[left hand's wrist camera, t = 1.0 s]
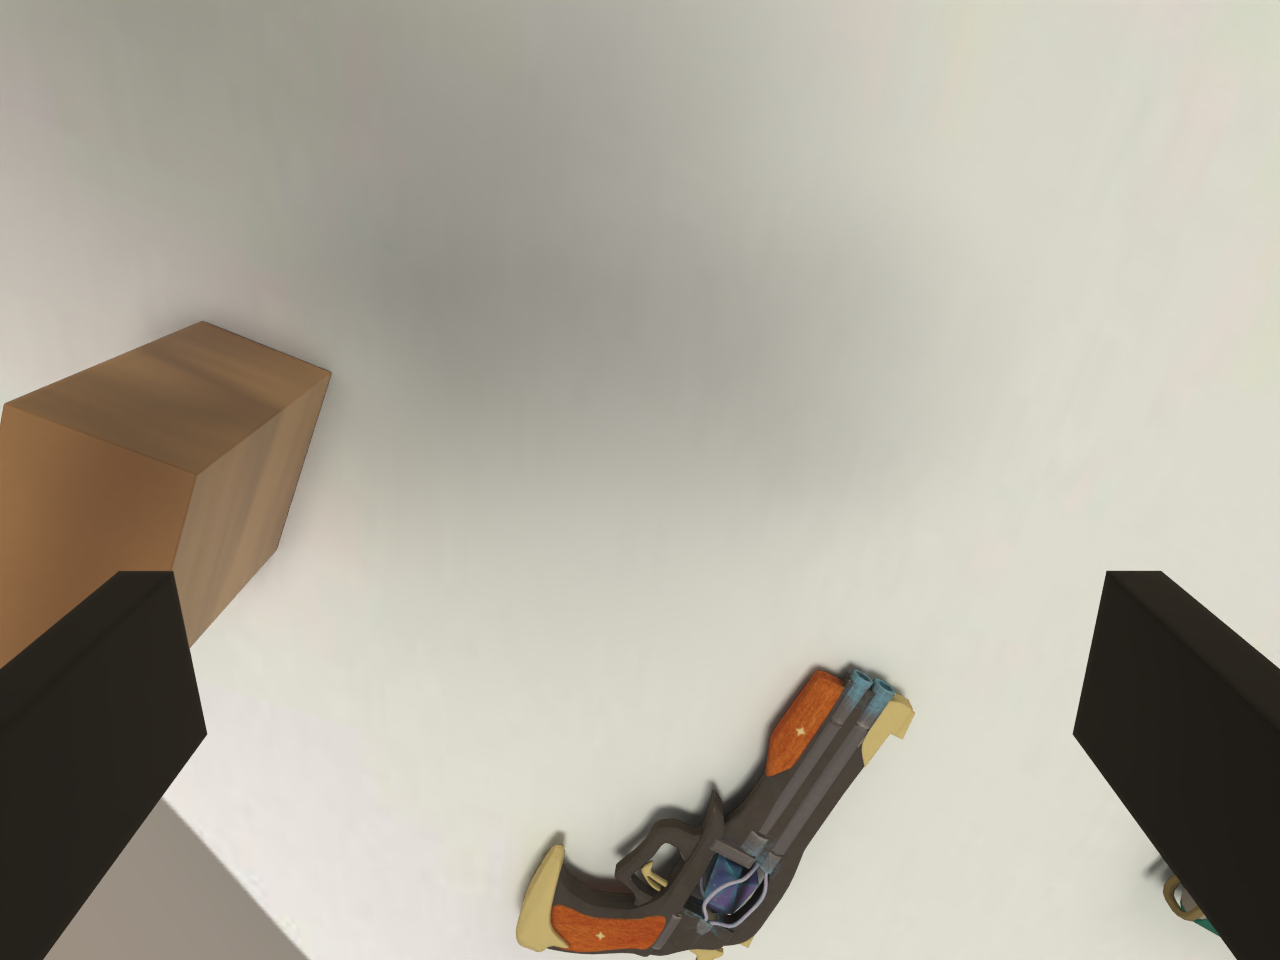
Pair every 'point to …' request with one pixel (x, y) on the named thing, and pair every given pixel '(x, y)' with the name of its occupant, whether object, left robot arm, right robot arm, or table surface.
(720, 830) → the toy gun
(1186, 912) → the spray gun
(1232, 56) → the table surface
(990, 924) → the table surface
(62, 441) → the block
